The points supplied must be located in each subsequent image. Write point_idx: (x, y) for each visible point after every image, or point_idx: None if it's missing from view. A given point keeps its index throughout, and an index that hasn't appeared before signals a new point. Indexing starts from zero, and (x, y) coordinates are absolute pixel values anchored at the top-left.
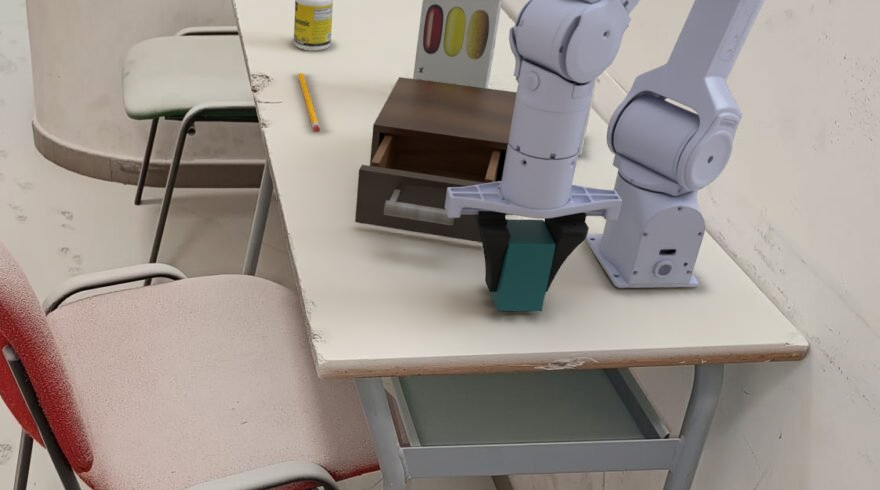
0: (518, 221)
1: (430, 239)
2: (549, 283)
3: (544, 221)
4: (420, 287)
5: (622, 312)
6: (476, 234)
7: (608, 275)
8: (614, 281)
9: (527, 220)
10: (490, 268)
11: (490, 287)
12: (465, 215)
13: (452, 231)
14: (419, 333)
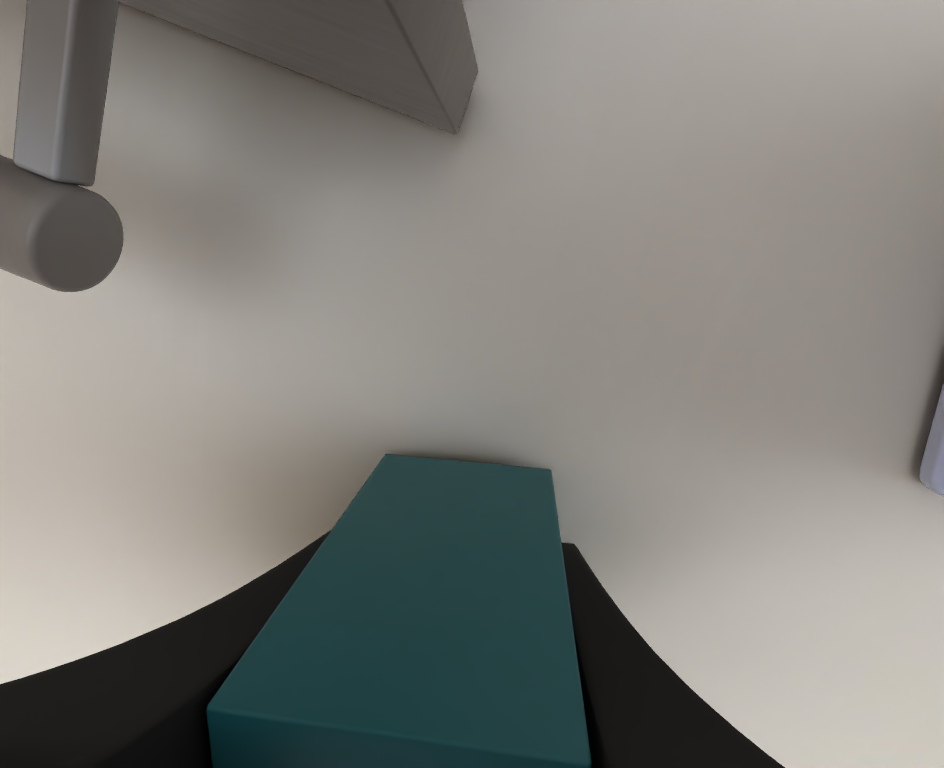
0: (362, 757)
1: None
2: None
3: (603, 747)
4: (165, 411)
5: (840, 616)
6: (381, 96)
7: (940, 400)
8: (931, 471)
9: (443, 754)
10: None
11: None
12: (256, 19)
13: (262, 52)
14: None
